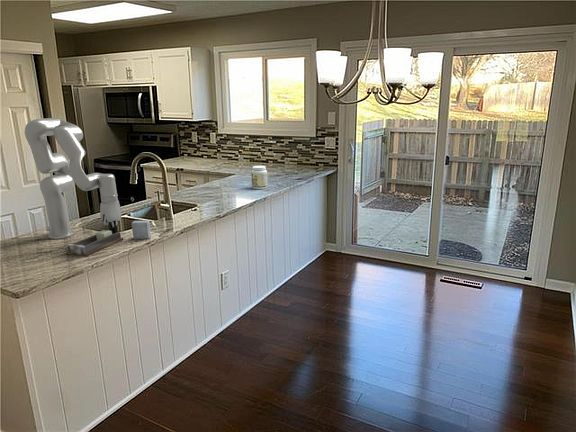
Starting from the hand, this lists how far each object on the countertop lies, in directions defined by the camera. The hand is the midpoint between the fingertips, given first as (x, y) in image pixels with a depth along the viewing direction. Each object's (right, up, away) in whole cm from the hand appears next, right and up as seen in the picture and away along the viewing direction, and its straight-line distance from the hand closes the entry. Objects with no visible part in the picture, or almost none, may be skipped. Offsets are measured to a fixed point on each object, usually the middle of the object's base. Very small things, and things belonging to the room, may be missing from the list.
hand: (114, 233), depth 213 cm
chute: (-4, -6, -11) cm, 13 cm away
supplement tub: (+67, +31, +115) cm, 136 cm away
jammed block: (-2, -3, -6) cm, 7 cm away
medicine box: (+14, -2, +1) cm, 14 cm away
